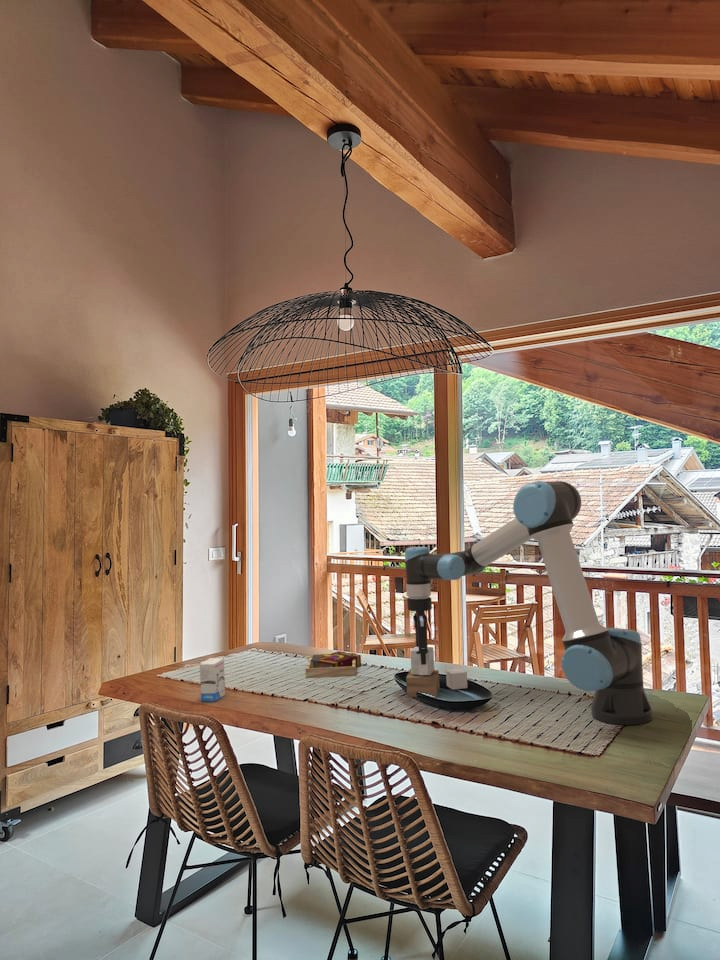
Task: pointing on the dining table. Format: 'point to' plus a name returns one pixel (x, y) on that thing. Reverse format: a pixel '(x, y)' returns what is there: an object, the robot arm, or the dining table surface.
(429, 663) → the skincare box
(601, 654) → the robot arm
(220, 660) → the ink box
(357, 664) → the decorative book
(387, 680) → the dining table surface
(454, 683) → the grey cube
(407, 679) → the walnut block
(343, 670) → the book frame
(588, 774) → the dining table surface
